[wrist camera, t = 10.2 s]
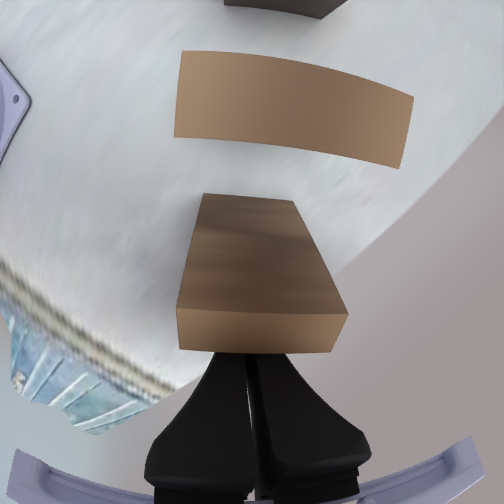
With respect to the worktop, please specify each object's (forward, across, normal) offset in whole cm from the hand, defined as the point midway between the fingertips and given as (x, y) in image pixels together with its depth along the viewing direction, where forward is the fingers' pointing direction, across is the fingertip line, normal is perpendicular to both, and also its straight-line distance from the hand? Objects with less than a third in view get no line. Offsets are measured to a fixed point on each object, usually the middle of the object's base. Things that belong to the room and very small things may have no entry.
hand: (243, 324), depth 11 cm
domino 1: (+5, 0, -8) cm, 10 cm away
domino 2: (+5, 0, -3) cm, 6 cm away
